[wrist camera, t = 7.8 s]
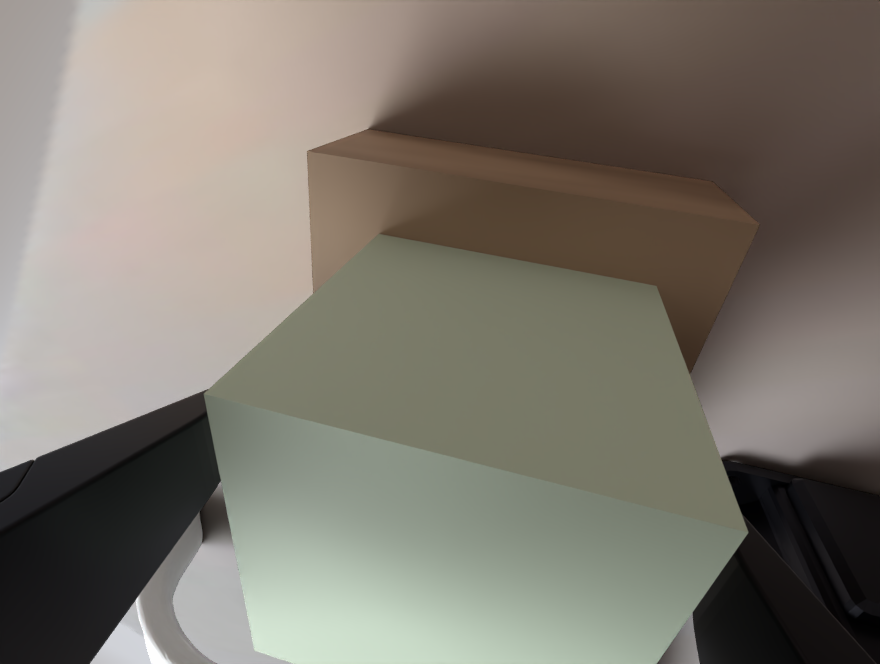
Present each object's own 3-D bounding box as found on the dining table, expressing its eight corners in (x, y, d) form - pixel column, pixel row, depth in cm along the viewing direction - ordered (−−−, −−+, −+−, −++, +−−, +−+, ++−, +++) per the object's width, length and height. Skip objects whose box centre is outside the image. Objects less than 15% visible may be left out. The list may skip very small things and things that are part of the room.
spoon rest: (677, 606, 20) (722, 843, 14) (583, 717, 26) (585, 914, 20) (174, 437, 23) (29, 576, 17) (197, 575, 29) (98, 712, 23)
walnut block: (607, 436, 17) (615, 532, 13) (367, 379, 18) (320, 453, 15) (708, 177, 12) (759, 224, 9) (373, 127, 13) (307, 151, 10)
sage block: (580, 485, 13) (587, 763, 8) (371, 432, 14) (254, 650, 9) (656, 285, 10) (748, 531, 5) (378, 234, 11) (204, 394, 6)
